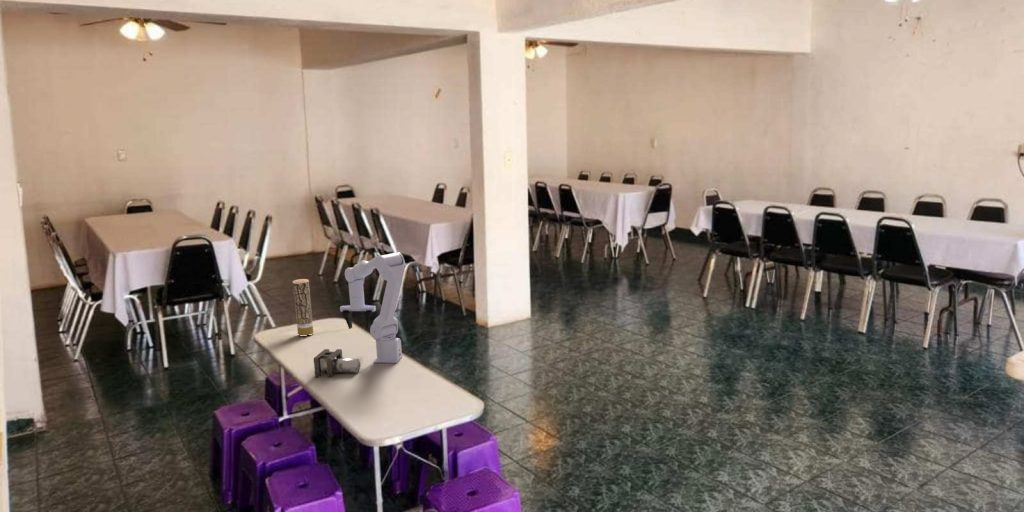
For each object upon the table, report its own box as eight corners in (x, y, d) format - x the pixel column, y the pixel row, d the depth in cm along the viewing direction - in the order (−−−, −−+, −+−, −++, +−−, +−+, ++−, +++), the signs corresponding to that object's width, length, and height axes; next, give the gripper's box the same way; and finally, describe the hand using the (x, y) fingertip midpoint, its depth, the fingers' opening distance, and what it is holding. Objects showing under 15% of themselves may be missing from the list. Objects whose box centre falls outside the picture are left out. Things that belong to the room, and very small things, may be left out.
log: (309, 337, 316) (303, 282, 312) (295, 337, 318) (289, 282, 313) (316, 332, 323) (311, 279, 318) (302, 332, 324) (297, 278, 320)
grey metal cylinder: (361, 369, 272) (360, 355, 270) (355, 375, 265) (354, 361, 264) (323, 369, 274) (322, 355, 273) (317, 374, 268) (316, 360, 267)
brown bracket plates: (343, 367, 275) (341, 349, 273) (332, 377, 265) (330, 358, 263) (326, 367, 276) (324, 349, 274) (315, 377, 266) (313, 358, 264)
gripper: (377, 293, 292) (379, 325, 295) (343, 293, 295) (346, 325, 297) (371, 297, 286) (374, 330, 288) (336, 297, 288) (339, 330, 290)
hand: (359, 328), depth 292 cm, fingers open, 7 cm apart
